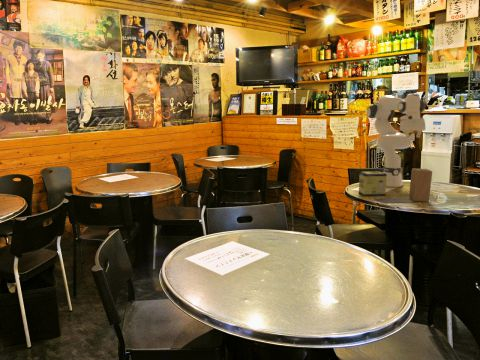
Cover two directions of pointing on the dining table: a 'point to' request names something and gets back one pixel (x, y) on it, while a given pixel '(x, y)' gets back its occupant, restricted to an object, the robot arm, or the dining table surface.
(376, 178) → the protein box
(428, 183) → the wooden block
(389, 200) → the mat
